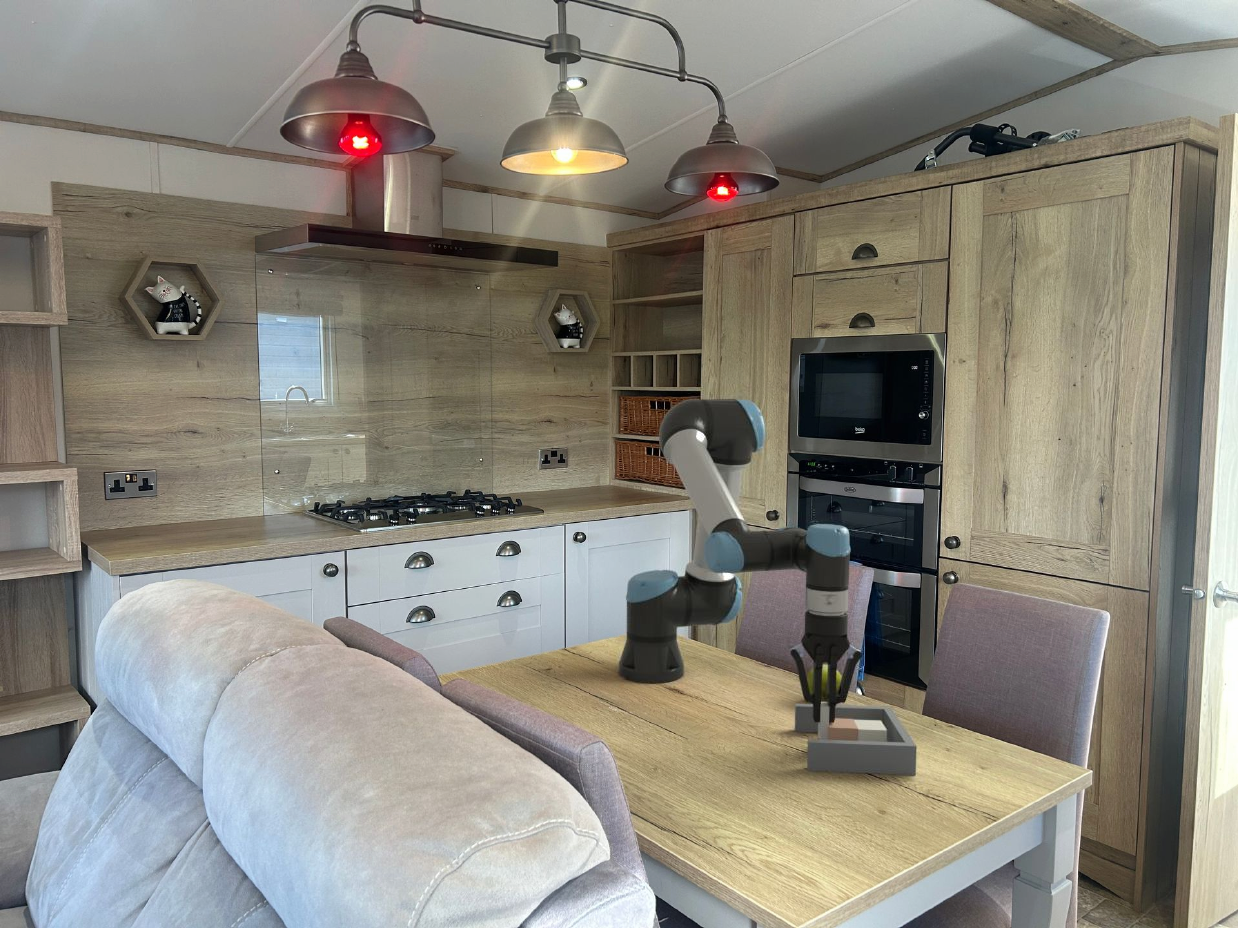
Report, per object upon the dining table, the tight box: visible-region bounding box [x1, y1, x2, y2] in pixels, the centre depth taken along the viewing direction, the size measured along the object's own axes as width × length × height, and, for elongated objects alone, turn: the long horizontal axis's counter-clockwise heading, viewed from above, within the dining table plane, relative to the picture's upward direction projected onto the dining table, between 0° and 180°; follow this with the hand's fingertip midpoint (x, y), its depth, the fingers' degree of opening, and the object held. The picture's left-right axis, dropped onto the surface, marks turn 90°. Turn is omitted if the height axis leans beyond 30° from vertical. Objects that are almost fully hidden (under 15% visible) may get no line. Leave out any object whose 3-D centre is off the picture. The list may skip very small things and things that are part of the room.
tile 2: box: [854, 720, 887, 742], centre depth 164 cm, size 5×5×5 cm
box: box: [794, 703, 918, 776], centre depth 164 cm, size 20×18×5 cm
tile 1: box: [828, 718, 858, 741], centre depth 165 cm, size 5×5×5 cm
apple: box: [806, 664, 843, 702], centre depth 190 cm, size 8×9×8 cm
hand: (823, 739), depth 165 cm, fingers closed
